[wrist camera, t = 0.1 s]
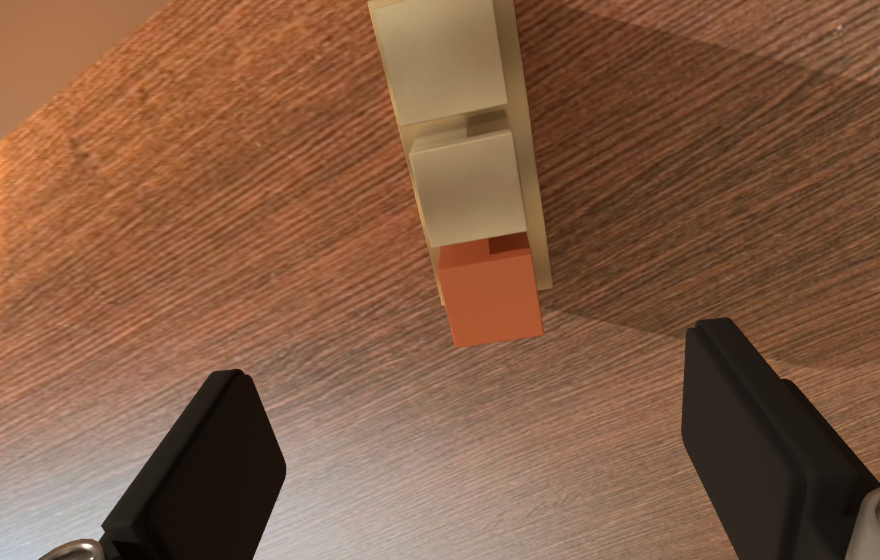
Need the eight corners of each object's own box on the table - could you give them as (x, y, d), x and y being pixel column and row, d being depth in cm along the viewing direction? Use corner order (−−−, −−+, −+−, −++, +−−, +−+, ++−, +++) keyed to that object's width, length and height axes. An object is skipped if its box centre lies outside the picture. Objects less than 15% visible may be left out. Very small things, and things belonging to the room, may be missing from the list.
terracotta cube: (442, 227, 27) (436, 270, 22) (522, 212, 26) (531, 254, 22) (458, 295, 28) (455, 348, 24) (533, 283, 28) (544, 335, 23)
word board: (369, 1, 23) (340, -1, 18) (508, -34, 22) (518, -47, 17) (442, 301, 29) (436, 360, 24) (551, 283, 28) (568, 341, 23)
